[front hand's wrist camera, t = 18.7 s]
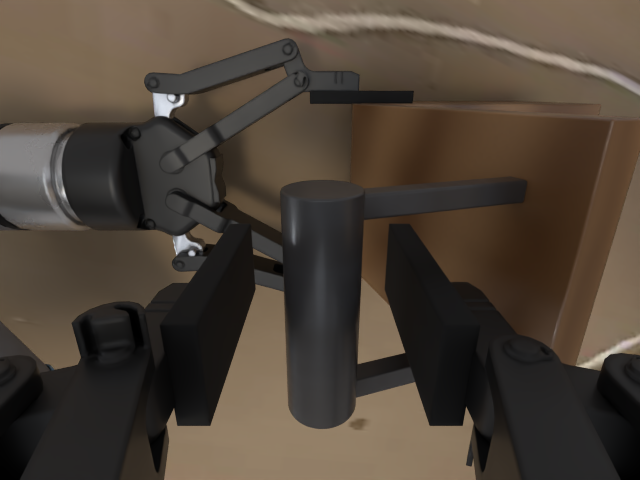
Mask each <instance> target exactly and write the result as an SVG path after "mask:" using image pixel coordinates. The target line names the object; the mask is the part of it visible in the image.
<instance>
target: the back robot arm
mask: <svg viewBox="0 0 640 480" xmlns="http://www.w3.org/2000/svg"><path fill="white" fill-rule="evenodd" d="M283 66H284V68H285V70H286V73H287V76H288V77H286V78H285V79H283V80H282V81H280V82H278V83H277V84H275V85H274V86H272V87H271V88H269V89H268V90H266V91H265V92H263V93H262V94H260V95H258V96H257V97H255V98H254V99H252V100H251V101H249V102H248V103H246V104H245V105H243V106H242V107H240V108H238V109H237V110H235V111H234V112H232V113H231V114H229V115H228V116H226V117H225V118H223V119H222V120H220V121H218V122H217V123H215V124H214V125H212V126H210V127H208V128H207V129H205V130H203V131H202V132H200V133H197V132H196V131H194V130H193V129H192V128H190V127H189V126H187V125H186V124H184V123H183V122H181V121H180V120H179V119H177V118H175V117H174V115H175V111H176V110H177V109H178V108H179V107H183V106H185V105H187V104H188V101H189V94H200V93H204V92H207V91H210V90H213V89H216V88H219V87H222V86H225V85H228V84H231V83H234V82H237V81H240V80H243V79H246V78H249V77H252V76H255V75H258V74H262V73H265V72H268V71H271V70H274V69H277V68H280V67H283ZM144 83H145V86H146V88H147V89H148V90H149V91H150V92H152V93H153V102H154V113H155V117H153V118H151V119H150V120H148V121H147V122H144V123H85V124H83V125H79V124H76V123H8V124H0V230H89V229H91V228H92V229H95V230H159V231H162V232H165V233H167V234H169V235H171V236H173V241H174V246H175V250H176V257H175V258H174V259H173V261H172V266H173V268H174V269H175V270H177V271H181V272H184V271H198V269H199V268H200V266H201V265H202V264H203V262H204V261H205V259H206V258H207V256H208V255H209V254H210V252H211V251H212V249H213V248H214V246H215V245H213V244H205V242H204V240H203V239H200V238H195V237H193V236H192V235H191V234H190V230H192V229H193V228H194V227H196V226H197V225H198V224H202V225H204V226H206V227H208V228H210V229H211V230H213V231H215V232H218V233H224V232H225V231H226V229H227V228H228V226H229V225H230V224H251V231H252V246H253V248H254V249H256V250H258V251H260V252H262V253H264V254H265V255H267V256H269V257H271V258H273V259H275V260H277V261H275V260H271V259H267V258H264V257H260V256H256V255H253V260H254V275H255V284H257V285H261V286H265V287H269V288H273V289H276V290H280V291H284V278H283V251H282V233H281V232H279V231H277V230H275V229H273V228H271V227H269V226H268V225H266V224H264V223H262V222H260V221H258V220H257V219H255V218H253V217H251V216H249V215H247V214H245V213H244V212H242V211H240V210H238V209H237V207H236V206H235V205H233V204H232V203H230V202H228V201H226V200H224V197H225V196H226V188H225V184H224V181H223V178H222V169H223V155H222V154H220V152H219V150H218V149H217V147H218V146H219V145H221V144H222V143H224V142H226V141H227V140H229V139H230V138H232V137H233V136H235V135H236V134H238V133H239V132H241V131H243V130H244V129H246V128H247V127H249V126H251V125H252V124H254V123H255V122H257V121H258V120H260V119H262V118H263V117H265V116H266V115H268V114H269V113H271V112H273V111H274V110H276V109H277V108H279V107H280V106H282V105H284V104H285V103H287V102H288V101H290V100H291V99H293V98H295V97H296V96H298V95H299V94H301V93H302V92H310V104H361V103H413V93H414V91H359V74H356V73H354V72H352V71H311V70H309V69H307V68H306V67H305V65H304V63H303V60H302V57H301V54H300V51H299V49H298V46H297V44H296V43H295V42H294V41H293V40H292V39H289V38H288V39H283V40H280V41H277V42H274V43H271V44H268V45H265V46H262V47H259V48H256V49H253V50H250V51H247V52H244V53H241V54H239V55H236V56H233V57H230V58H227V59H224V60H221V61H218V62H215V63H212V64H209V65H206V66H203V67H200V68H197V69H194V70H191V71H188V72H185V73H182V74H168V73H149V74H147V75H146V77H145V80H144ZM15 355H24V356H30V357H32V358H33V359H34V360H35V361H36V363H37V366H38V369H39V372H40V373H42V372H47V371H52V370H54V368H53V367H52V366H51V365H48V364H44V363H43V362H42V361H41V360H40V359H39V358H38V357H37V356H36V355H35V354H34V353H33V352H32V351H31V350H30V349H29V348H28V347H27V346H26V345H24V344H23V343H22V342H21V341H20V340H19V339H18V338H17V337H16V336H15V335H14V334H13V333H12V332H11V331H10V330H9V329H8V328H7V327H6V326H5V325H4V324H3V323H2V322H1V321H0V357H5V356H15Z"/></svg>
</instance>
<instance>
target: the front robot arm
mask: <svg viewBox="0 0 640 480" xmlns="http://www.w3.org/2000/svg"><path fill="white" fill-rule="evenodd" d="M254 292H255V275H254V260H253V246H252V231H251V224H230V225H229V226H228V228H227V229H226V231H225V232H224V234H223V235H222V236H221V238H220V239H219V241H218V242H217V244H216V245H215V246H214V248H213V249H212V251H211V252H210V254H209V255H208V256H207V258H206V259H205V261H204V262H203V264H202V265H201V266H200V268H199V269H198V271H197V272H196V274H195V275H194V276H193V278H192V279H191V281H190V282H189V283H172V284H171V285H169V286H167V287H166V288H164V289H163V290H161V291H159V292H158V293H157V295H156V296H155V297H154V298H153V300H152V301H151V303H149V304H148V306H147V307H146V308H145V309H144V307H142V306H141V305H140V304H138V303H134V302H113V303H108V304H103V305H100V306H98V307H95V308H92V309H90V310H88V311H86V312H84V313H83V314H81V315H79V316H78V317H77V318H76V319H75V320H74V321H73V322H72V326H73V330H74V333H75V337H76V341H77V344H78V348H79V352H80V355H81V359H80V361H79V363H78V365H75V366H71V367H67V368H62V369H57V370H52V371H47V372H42V373H40V372H39V369H38V366H37V363H36V361H35V360H34V359H33V358H32V357H30V356H24V355H15V356H5V357H0V480H164V476H165V468H166V460H167V452H168V444H169V437H168V430H167V425H166V424H167V421H168V419H169V417H170V415H171V413H172V411H173V409H175V415H176V421H177V426H210V425H211V422H212V419H213V416H214V413H215V410H216V407H217V404H218V401H219V398H220V395H221V392H222V389H223V386H224V383H225V380H226V377H227V374H228V371H229V368H230V365H231V362H232V359H233V356H234V353H235V350H236V347H237V344H238V341H239V338H240V335H241V332H242V329H243V326H244V323H245V320H246V317H247V314H248V310H249V307H250V304H251V301H252V298H253V295H254ZM385 292H386V295H387V298H388V301H389V304H390V307H391V310H392V314H393V317H394V320H395V323H396V326H397V329H398V332H399V335H400V338H401V341H402V344H403V347H404V350H405V353H406V356H407V359H408V362H409V365H410V368H411V371H412V374H413V377H414V380H415V383H416V386H417V389H418V392H419V395H420V398H421V401H422V404H423V407H424V410H425V413H426V416H427V419H428V422H429V425H430V426H463V421H464V415H465V409H466V407H467V409H468V411H469V413H470V415H471V417H472V419H473V422H474V425H473V430H472V435H471V441H470V446H469V451H468V456H467V463H466V465H467V466H472V461H473V459H474V467H475V475H476V480H640V356H639V355H632V354H624V353H619V354H611V355H609V356H608V357H607V358H605V360H604V363H603V366H602V369H601V371H597V370H592V369H587V368H582V367H577V366H572V365H568V364H564V363H561V361H560V359H559V357H558V356H557V354H556V353H555V352H554V351H553V350H552V349H551V348H550V347H548V346H547V345H545V344H544V343H542V342H540V341H538V340H535V339H533V338H531V337H528V336H523V335H519V334H517V333H516V332H515V331H514V329H513V328H512V327H511V326H510V325H509V323H508V322H507V321H506V320H505V318H504V317H503V316H502V315H501V314H500V312H499V311H498V310H496V308H495V306H494V305H493V304H492V303H491V302H489V299H488V298H487V297H486V296H485V294H484V293H483V292H482V291H481V290H480V289H478V288H477V287H475V286H473V285H472V284H470V283H468V282H450V281H449V279H448V278H447V276H446V275H445V274H444V272H443V271H442V269H441V268H440V266H439V265H438V264H437V262H436V261H435V259H434V258H433V256H432V255H431V254H430V252H429V251H428V249H427V248H426V246H425V245H424V244H423V242H422V241H421V239H420V238H419V236H418V235H417V234H416V232H415V231H414V229H413V228H412V226H411V225H410V224H389V231H388V246H387V260H386V275H385Z"/></svg>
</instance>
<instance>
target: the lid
mask: <svg viewBox="0 0 640 480" xmlns="http://www.w3.org/2000/svg"><path fill="white" fill-rule="evenodd" d="M639 152H640V118H639V117H619V116H599V115H580V114H560V113H540V112H520V111H500V110H481V109H461V108H441V107H421V106H401V105H382V104H354V105H353V137H352V169H351V183H349V182H343V181H334V180H311V181H301V182H296V183H292V184H289V185H286V186H284V187H283V188H282V189H281V191H280V197H281V224H282V251H283V278H284V305H285V331H286V358H287V385H288V406H289V410H290V412H291V414H292V415H293V417H294V418H295V419H296V420H297V421H299V422H300V423H302V424H303V425H306V426H308V427H311V428H316V429H328V428H333V427H336V426H339V425H341V424H342V423H344V422H345V421H347V420H348V419H349V418H350V416H351V415H352V413H353V412H354V409H355V405H356V398H357V397H360V396H364V395H368V394H372V393H375V392H379V391H383V390H387V389H390V388H394V387H398V386H402V385H405V384H409V383H413V382H415V380H414V377H413V374H412V371H411V368H410V365H409V362H408V359H407V356H406V353H403V354H399V355H395V356H391V357H387V358H382V359H378V360H374V361H370V362H366V363H361V364H357V361H358V339H359V317H360V295H361V277H362V278H363V279H364V280H365V281H366V282H367V283H368V284H369V285H370V286H371V287H372V288H373V289H374V290H375V291H376V292H377V293H378V294H379V295H380V296H381V297H382V298H383V299H384V300H385V301H386V302H387V303H388V304H389V301H388V298H387V295H386V292H385V275H386V260H387V246H388V231H389V224H410V225H411V226H412V228H413V229H414V231H415V232H416V234H417V235H418V236H419V238H420V239H421V241H422V242H423V244H424V245H425V246H426V248H427V249H428V251H429V252H430V254H431V255H432V256H433V258H434V259H435V261H436V262H437V264H438V265H439V266H440V268H441V269H442V271H443V272H444V274H445V275H446V276H447V278H448V279H449V281H450V282H468V283H470V284H472V285H473V286H475V287H477V288H478V289H480V290H481V291H482V292H483V293H484V294H485V296H486V297H487V298H488V299H489V302H491V303H492V304H493V305H494V306H495V308H496V310H498V311H499V312H500V314H501V315H502V316H503V317H504V318H505V320H506V321H507V322H508V323H509V325H510V326H511V327H512V328H513V329H514V331H515V332H516V333H517V334H519V335H523V336H528V337H531V338H533V339H535V340H538V341H540V342H542V343H544V344H545V345H547V346H548V347H550V348H551V349H552V350H553V351H554V352H555V353H556V354H557V356H558V357H559V359H560V361H561V363H564V364H568V365H572V366H575V365H576V361H577V358H578V355H579V351H580V348H581V345H582V342H583V338H584V335H585V332H586V328H587V325H588V322H589V318H590V315H591V312H592V308H593V305H594V302H595V298H596V295H597V292H598V288H599V285H600V282H601V278H602V275H603V272H604V268H605V265H606V262H607V258H608V255H609V252H610V249H611V245H612V242H613V239H614V235H615V232H616V229H617V225H618V222H619V219H620V215H621V212H622V209H623V205H624V202H625V199H626V195H627V192H628V189H629V185H630V182H631V179H632V175H633V172H634V169H635V165H636V162H637V159H638V155H639ZM389 305H390V304H389Z"/></svg>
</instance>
